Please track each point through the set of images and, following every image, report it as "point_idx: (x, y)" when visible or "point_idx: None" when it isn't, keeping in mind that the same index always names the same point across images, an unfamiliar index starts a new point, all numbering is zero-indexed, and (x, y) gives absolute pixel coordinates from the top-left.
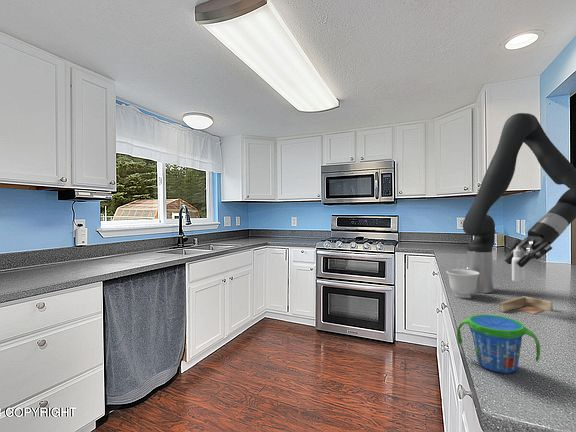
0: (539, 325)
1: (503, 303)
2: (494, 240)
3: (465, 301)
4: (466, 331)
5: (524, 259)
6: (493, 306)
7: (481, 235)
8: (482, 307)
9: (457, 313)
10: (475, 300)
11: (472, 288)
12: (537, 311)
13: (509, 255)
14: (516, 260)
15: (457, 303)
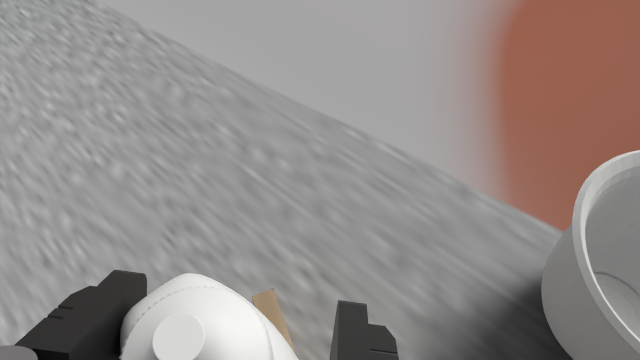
0: None
1: (256, 303)
2: None
3: (476, 259)
4: (120, 30)
5: (43, 322)
6: None
7: None
8: (357, 270)
9: (295, 108)
10: (495, 331)
11: (553, 310)
12: None
13: (361, 353)
14: (159, 289)
15: (441, 196)
